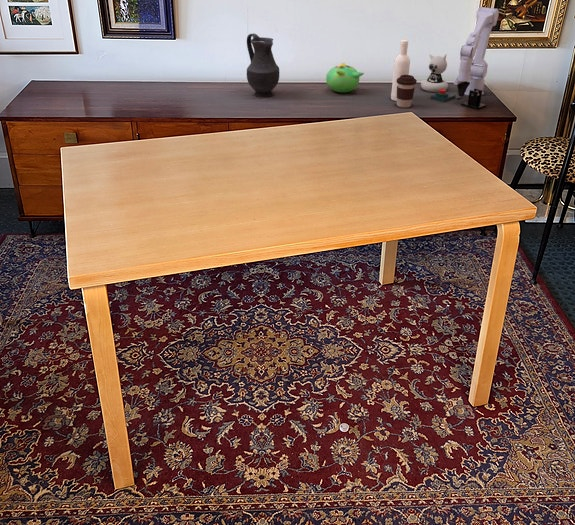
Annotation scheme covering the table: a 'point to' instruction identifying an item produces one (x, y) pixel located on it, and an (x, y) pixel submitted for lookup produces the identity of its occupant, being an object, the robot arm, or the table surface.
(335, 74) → the toy bird
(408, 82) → the coffee cup
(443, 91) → the stop button
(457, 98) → the lever
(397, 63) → the bottle
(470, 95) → the bracket
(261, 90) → the pitcher
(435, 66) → the decorative figurine
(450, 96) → the button box
